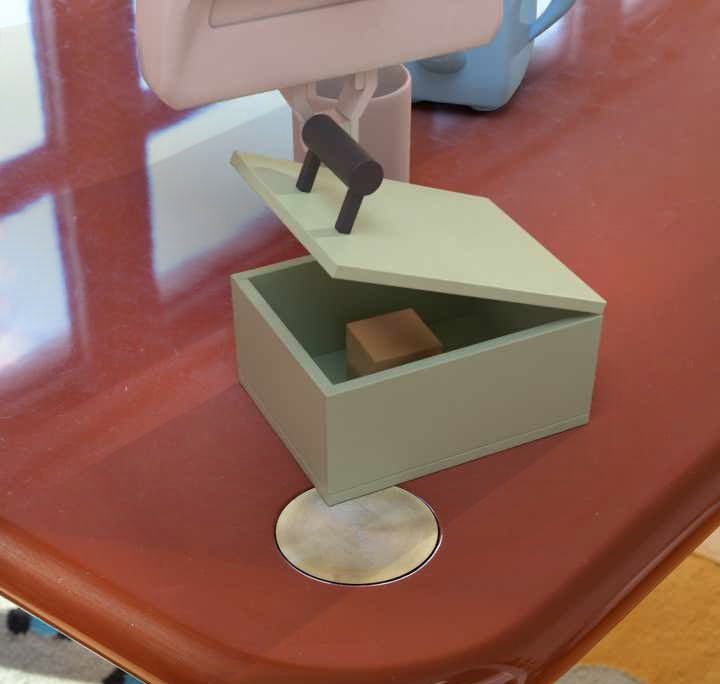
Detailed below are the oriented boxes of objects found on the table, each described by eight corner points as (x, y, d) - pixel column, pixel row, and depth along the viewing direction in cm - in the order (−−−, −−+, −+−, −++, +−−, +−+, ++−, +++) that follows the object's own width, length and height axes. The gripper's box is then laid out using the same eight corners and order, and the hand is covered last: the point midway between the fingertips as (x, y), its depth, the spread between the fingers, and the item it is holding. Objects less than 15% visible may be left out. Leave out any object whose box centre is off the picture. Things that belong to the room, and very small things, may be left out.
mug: (425, 235, 100) (430, 92, 92) (314, 255, 98) (310, 110, 90) (372, 163, 108) (373, 26, 101) (269, 179, 106) (262, 41, 99)
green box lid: (331, 278, 68) (366, 185, 65) (228, 163, 77) (255, 77, 74) (602, 314, 78) (640, 235, 75) (483, 209, 87) (514, 135, 84)
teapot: (332, 64, 122) (329, -94, 113) (494, 34, 127) (504, -120, 118) (419, 150, 110) (423, -19, 101) (595, 113, 115) (614, -51, 106)
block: (375, 422, 82) (375, 361, 79) (346, 382, 85) (345, 323, 82) (440, 404, 83) (443, 344, 80) (410, 366, 86) (411, 307, 83)
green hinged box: (328, 506, 78) (326, 396, 72) (238, 380, 87) (229, 274, 81) (589, 423, 83) (604, 315, 78) (478, 313, 92) (485, 209, 87)
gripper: (474, -159, 73) (462, 89, 82) (109, -102, 66) (141, 161, 76) (536, -126, 69) (516, 132, 78) (153, -62, 62) (181, 211, 71)
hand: (329, 147), depth 77 cm, fingers closed
